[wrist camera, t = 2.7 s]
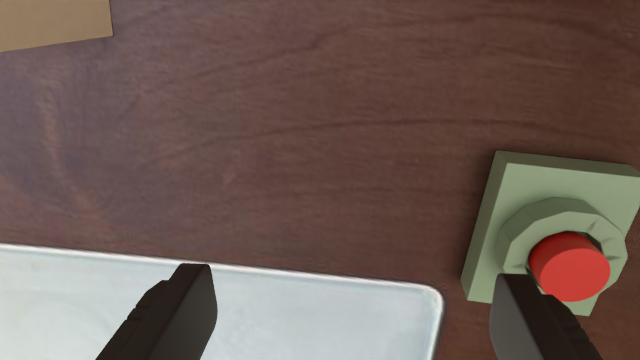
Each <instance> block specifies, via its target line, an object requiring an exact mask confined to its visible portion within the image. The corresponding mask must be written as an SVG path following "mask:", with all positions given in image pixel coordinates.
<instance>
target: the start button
mask: <svg viewBox="0 0 640 360" xmlns="http://www.w3.org/2000/svg"><path fill="white" fill-rule="evenodd" d="M529 267H530V270H531V272H532V273H533V275H534V277H535V278H536V280H537V281H538V283H539V285H540V286H541V288H542V290H543V291H544V292H545V293H546V294H552V295H554V296H555V297H556V298H557V299H559V300H560V301H563V302H577V301H582V300H585V299H588V298H590V297H592V296H594V295H595V294H597V293H598V292H599V291H601V290H602V289H603V288H604V286H605V285H606V284H607V282H608V280H609V277H610V265H609V262H608V260H607V259H606V258H605V256H604V255H603V254H602V253H601V252H600V251H599V250H598V249H597V248H596V247H595V246H594V245H593V244H592V242H591V241H590V240H589V239H587V238H586V237H585V236H583V235H581V234H578V233H574V232H559V233H556V234H552V235H549V236H547V237H545V238H543V239H542V240H541V241H539V242H538V243H537V244H536V245H535V246H534V248H533V249H532V251H531V253H530V256H529Z"/></svg>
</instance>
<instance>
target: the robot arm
mask: <svg viewBox="0 0 640 360" xmlns="http://www.w3.org/2000/svg"><path fill="white" fill-rule="evenodd" d="M216 320H217V302H216V296H215V290H214V285H213V279H212V273H211V269H210V266H209V265H208V264H190V263H182V264H180V265H179V266H178V268H177V269H176V270H175V272H174V273H173V275H172V276H171V278H170V279H169V280H162V281H160V282H159V283H157V284H156V285H155V286H153V287H152V288H151V289H149V290H148V291H147V292H146V293H145V294H144V295H143V297H142V298H141V299H140V301H139V302H138V303H137V305H136V308H134V309H133V310H132V311H131V313H130V314H129V315H128V317H127V320H125V321H124V322H123V323H122V325H121V326H120V327H119V329H118V330H117V331H116V333H115V334H114V335H113V337H112V338H111V339H110V341H109V342H108V343H107V345H106V346H105V347H104V349H103V350H102V351H101V353H100V354H99V355H98V357H97V358H96V359H95V360H200V358H201V356H202V354H203V352H204V349H205V347H206V345H207V343H208V341H209V339H210V336H211V334H212V332H213V330H214V328H215V324H216ZM489 330H490V337H491V341H492V344H493V347H494V349H495V352H496V355H497V358H498V360H603V359H602V358H601V356H600V354H599V353H598V351H597V350H596V348H595V347H594V345H593V344H592V342H590V341H589V337H588V336H587V334H586V333H585V331H584V330H583V328H581V327H580V324H579V322H578V320H577V319H576V317H575V316H574V314H573V313H572V311H571V310H570V308H568V307H567V306H566V305H565V304H563V303H562V302H561V301H560V300H559V299H557V298H556V297H555V296H554V295H552V294H542V293H541V292H540V290H539V288H538V287H537V285H536V283H535V281H534V280H533V278H532V277H531V275H529V274H512V273H499V274H498V275H497V277H496V281H495V287H494V293H493V299H492V305H491V311H490V317H489Z"/></svg>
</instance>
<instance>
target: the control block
mask: <svg viewBox="0 0 640 360" xmlns="http://www.w3.org/2000/svg"><path fill="white" fill-rule="evenodd" d="M639 206H640V171H638V170H637V169H635V168H633V167H632V166H630V165H627V164H618V163H609V162H600V161H591V160H582V159H573V158H564V157H555V156H546V155H536V154H527V153H518V152H509V151H500V150H496V152H495V156H494V160H493V163H492V167H491V170H490V174H489V178H488V181H487V185H486V188H485V192H484V196H483V199H482V203H481V206H480V210H479V214H478V217H477V221H476V225H475V228H474V232H473V235H472V239H471V243H470V246H469V250H468V253H467V257H466V261H465V264H464V268H463V271H462V275H461V279H460V281H461V284H462V287H463V290H464V293H465V296H466V299H467V300H470V301H477V302H485V303H492V299H493V293H494V287H495V281H496V277H497V275H498V274H499V273H512V274H529V275H531V277H532V278H533V280H534V281H535V283H536V285H537V287H538V288H539V290H540V292H541V293H542V294H546V293H545V292H544V291H543V290H542V288H541V286H540V285H539V283H538V281H537V280H536V278H535V277H534V275H533V273H532V272H531V270H530V267H529V256H530V253H531V251H532V249H533V248H534V246H535V245H536V244H537V243H538V242H539V241H541V240H542V239H543V238H545V237H547V236H549V235H552V234H556V233H559V232H574V233H578V234H581V235H583V236H585V237H586V238H587V239H589V240H590V241H591V242H592V244H593V245H594V246H595V247H596V248H597V249H598V250H599V251H600V252H601V253H602V254H603V255H604V256H605V258H606V259H607V260H608V262H609V265H610V277H609V280H608V282H607V284H606V285H605V286H604V288H603V289H602V290H601V291H599V292H598V293H597V294H595V295H594V296H592V297H590V298H588V299H585V300H582V301H577V302H563V301H561V302H562V303H563V304H565V305H566V306H567V307H568V308H570V310H571V311H572V313H573V314H577V315H584V316H589V315H590V313H591V311H592V308H593V306H594V304H595V302H596V300H597V298H598V295H599V294H600V293H601V292H603V291H604V290H605V289H607V288H608V287H609V286H611V285H612V284H613V283H615V281H617V279H618V277H619V275H620V273H621V271H622V268H623V266H624V264H625V262H626V260H627V258H628V257H627V256H628V255H627V251H626V246H625V242H624V239H625V237H626V234H627V232H628V230H629V228H630V226H631V223H632V221H633V219H634V217H635V215H636V213H637V210H638V208H639Z"/></svg>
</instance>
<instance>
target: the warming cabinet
mask: <svg viewBox="0 0 640 360" xmlns="http://www.w3.org/2000/svg"><path fill="white" fill-rule="evenodd" d="M108 36H113V31H112V22H111V14H110V5H109V0H0V52H6V51H13V50H19V49H26V48H33V47H40V46H47V45H53V44H60V43H67V42H74V41H81V40H87V39H94V38H101V37H108Z"/></svg>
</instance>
